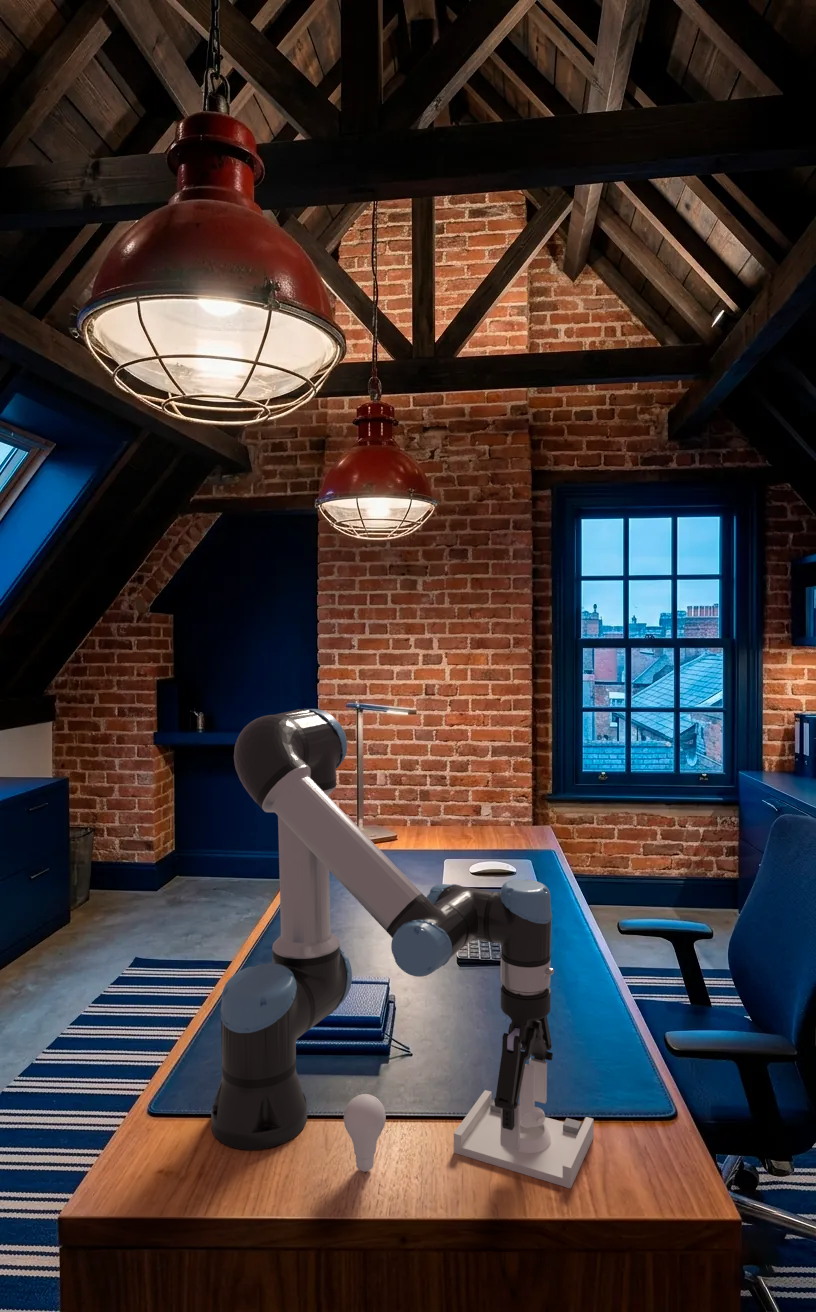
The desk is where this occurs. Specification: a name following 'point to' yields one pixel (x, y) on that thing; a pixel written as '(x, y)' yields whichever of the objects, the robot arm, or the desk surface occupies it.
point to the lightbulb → (364, 1127)
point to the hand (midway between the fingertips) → (524, 1122)
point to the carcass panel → (551, 1164)
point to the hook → (531, 1114)
